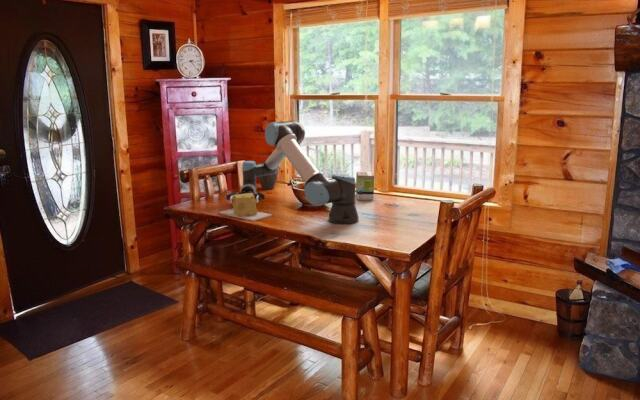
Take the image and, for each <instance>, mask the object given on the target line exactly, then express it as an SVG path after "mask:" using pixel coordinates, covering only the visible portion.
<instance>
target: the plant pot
mask: <svg viewBox="0 0 640 400" xmlns="http://www.w3.org/2000/svg"><path fill="white" fill-rule="evenodd" d="M278 173H279V169H278V170H277V173H276V174H272V175H265V176H258V177H257V178H258V181H259V184H260V187H261V189H262V190H265V191H266V190H268V191H269V190H273V189H274V188H275V186H276V182H277V179H278Z"/></svg>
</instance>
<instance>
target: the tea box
mask: <svg viewBox="0 0 640 400" xmlns="http://www.w3.org/2000/svg"><path fill="white" fill-rule="evenodd" d="M355 173H356V174H355V175H356V176H355V184H356V185H355V197H356V200H358V201H373V200H374V198H375V174H374V173H373V171H356V172H355Z"/></svg>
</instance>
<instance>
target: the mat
mask: <svg viewBox="0 0 640 400" xmlns="http://www.w3.org/2000/svg"><path fill="white" fill-rule="evenodd" d="M219 213H220V214H221V215H224V216H229V217H234V218H238V219H242V220H246V221H251V222H257V221H259V220H263V219H266V218H270V217H272V213H268V212H267V213H266V212H262V211H257V215H246V216H237V215H236V214H235V212H234V209H233V208H230V209H226V210H222V211H219V212H218V214H219Z"/></svg>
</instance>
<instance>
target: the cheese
mask: <svg viewBox="0 0 640 400" xmlns="http://www.w3.org/2000/svg"><path fill="white" fill-rule="evenodd" d="M232 207H233V208H232V209H234V212H235V214H236V215H237V216H246V215H257V212H258V209H257V203H256V199H255V197H254V195H253V193H246V194H236V195H233V202H232Z"/></svg>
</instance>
